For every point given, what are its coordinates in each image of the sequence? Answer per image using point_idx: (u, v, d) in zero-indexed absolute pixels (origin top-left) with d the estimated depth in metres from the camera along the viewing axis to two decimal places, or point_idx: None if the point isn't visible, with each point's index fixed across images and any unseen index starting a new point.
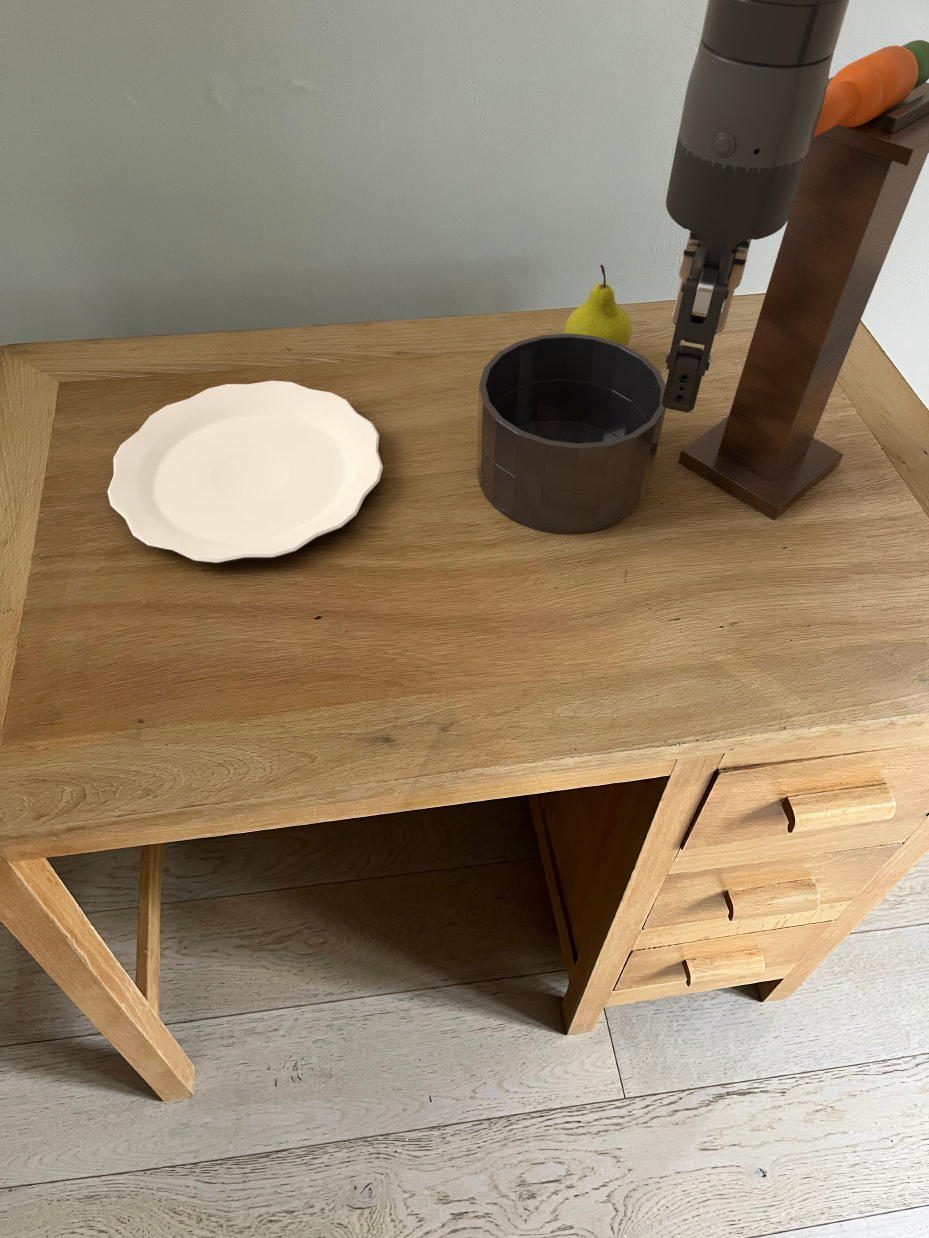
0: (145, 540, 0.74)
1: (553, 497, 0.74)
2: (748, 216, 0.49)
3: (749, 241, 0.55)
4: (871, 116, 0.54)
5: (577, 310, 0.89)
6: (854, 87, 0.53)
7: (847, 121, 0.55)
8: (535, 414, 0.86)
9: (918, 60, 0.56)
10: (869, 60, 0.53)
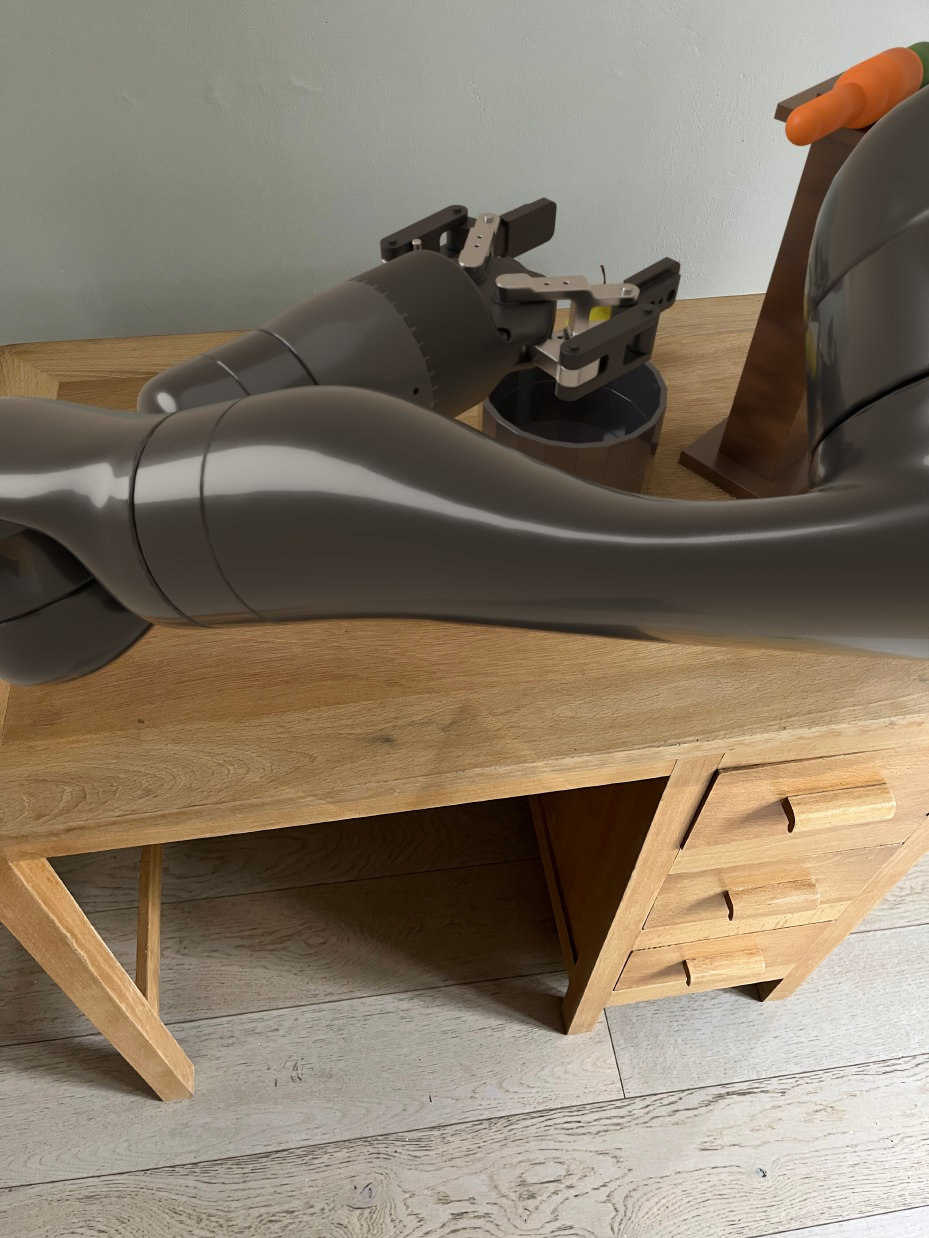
0: None
1: None
2: (474, 347, 0.37)
3: (463, 266, 0.41)
4: (872, 122, 0.55)
5: None
6: (861, 92, 0.53)
7: (848, 123, 0.55)
8: (535, 414, 0.86)
9: (924, 66, 0.56)
10: (879, 64, 0.53)
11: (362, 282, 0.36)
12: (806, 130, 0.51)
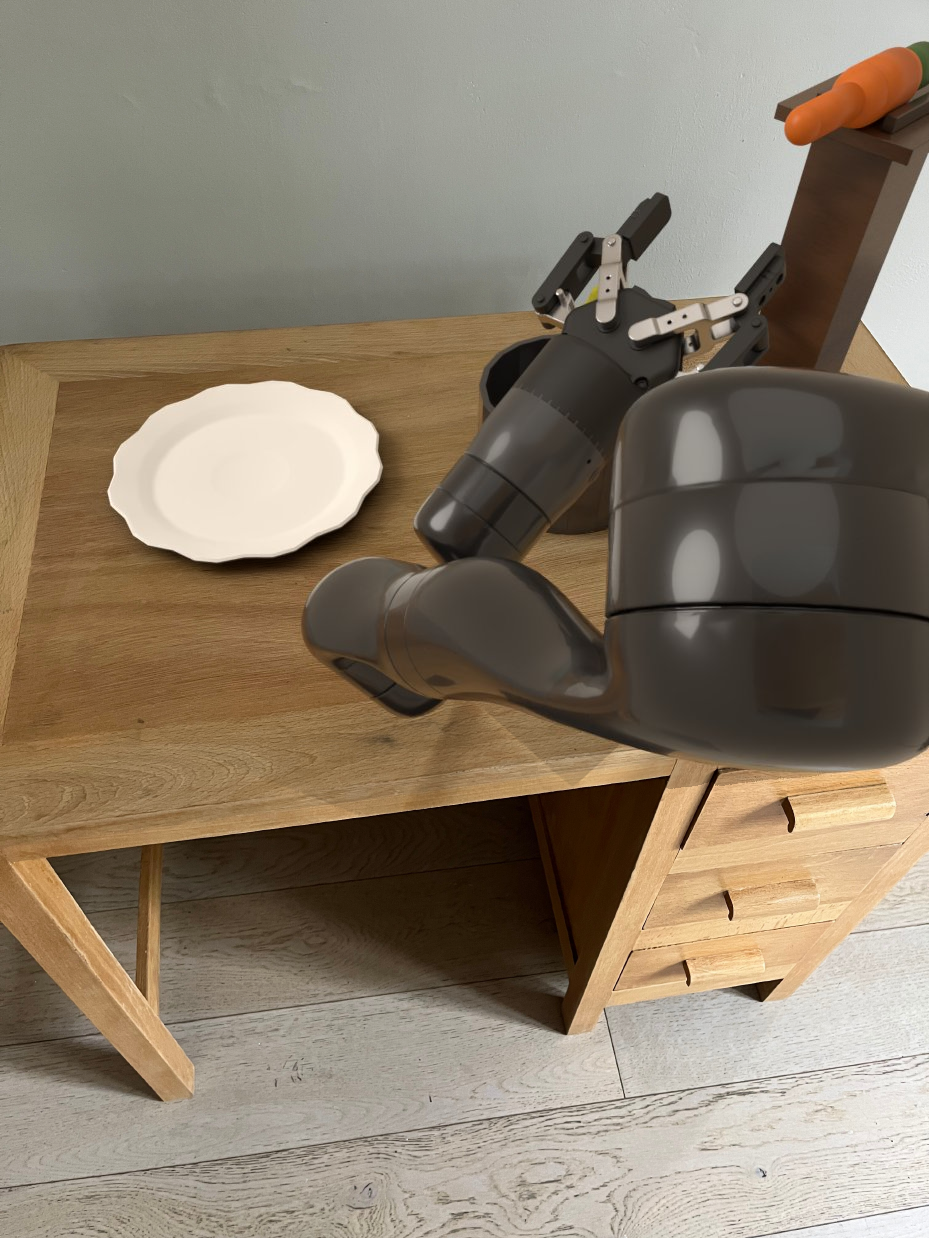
0: (145, 540, 0.74)
1: None
2: (623, 409, 0.50)
3: (601, 323, 0.52)
4: (872, 121, 0.54)
5: None
6: (860, 91, 0.53)
7: (848, 123, 0.55)
8: None
9: (923, 65, 0.56)
10: (878, 63, 0.53)
11: (531, 393, 0.50)
12: (805, 129, 0.51)
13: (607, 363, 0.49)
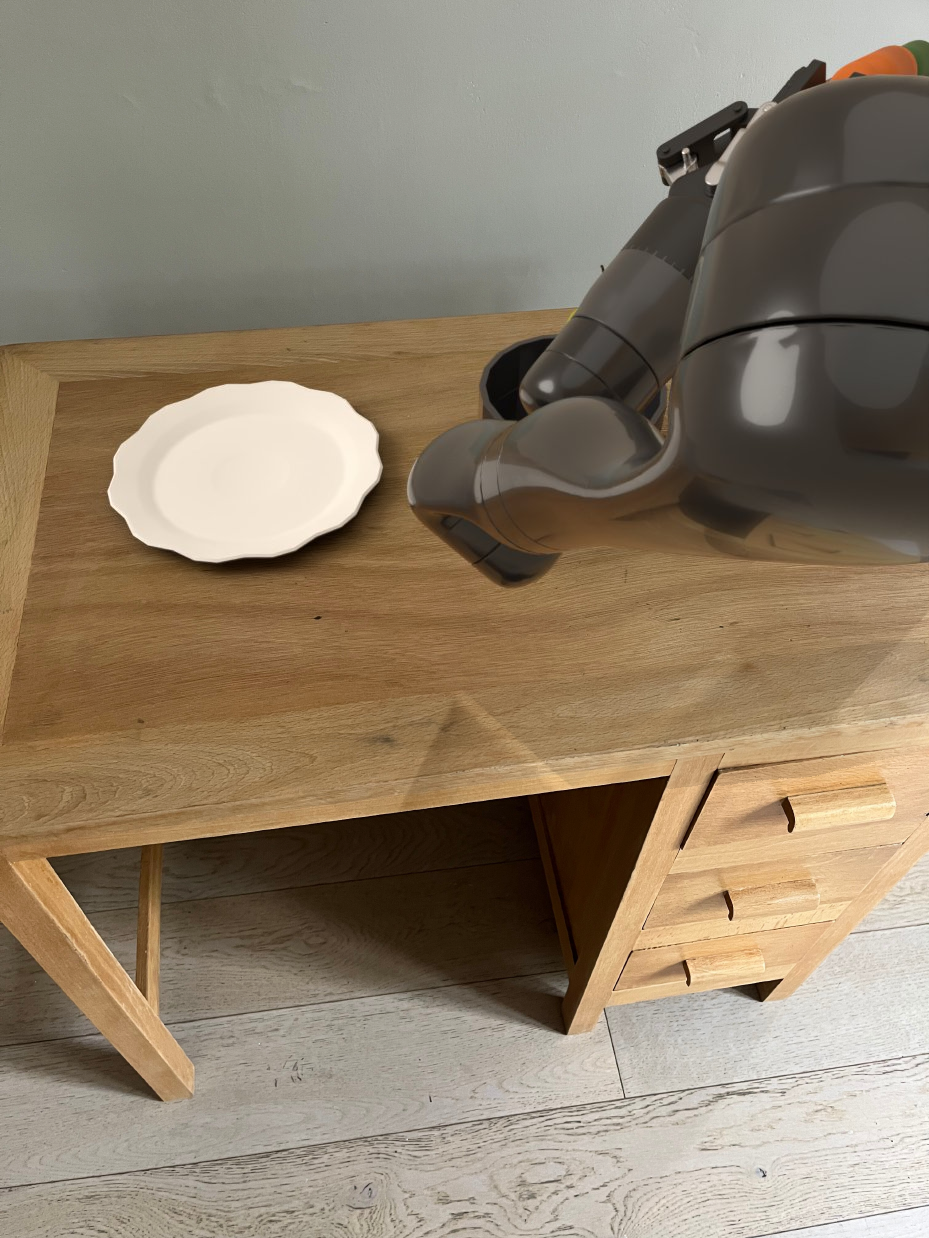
0: (145, 540, 0.74)
1: None
2: None
3: (706, 184, 0.51)
4: None
5: None
6: None
7: None
8: None
9: (917, 59, 0.56)
10: (867, 59, 0.53)
11: (644, 251, 0.50)
12: None
13: None
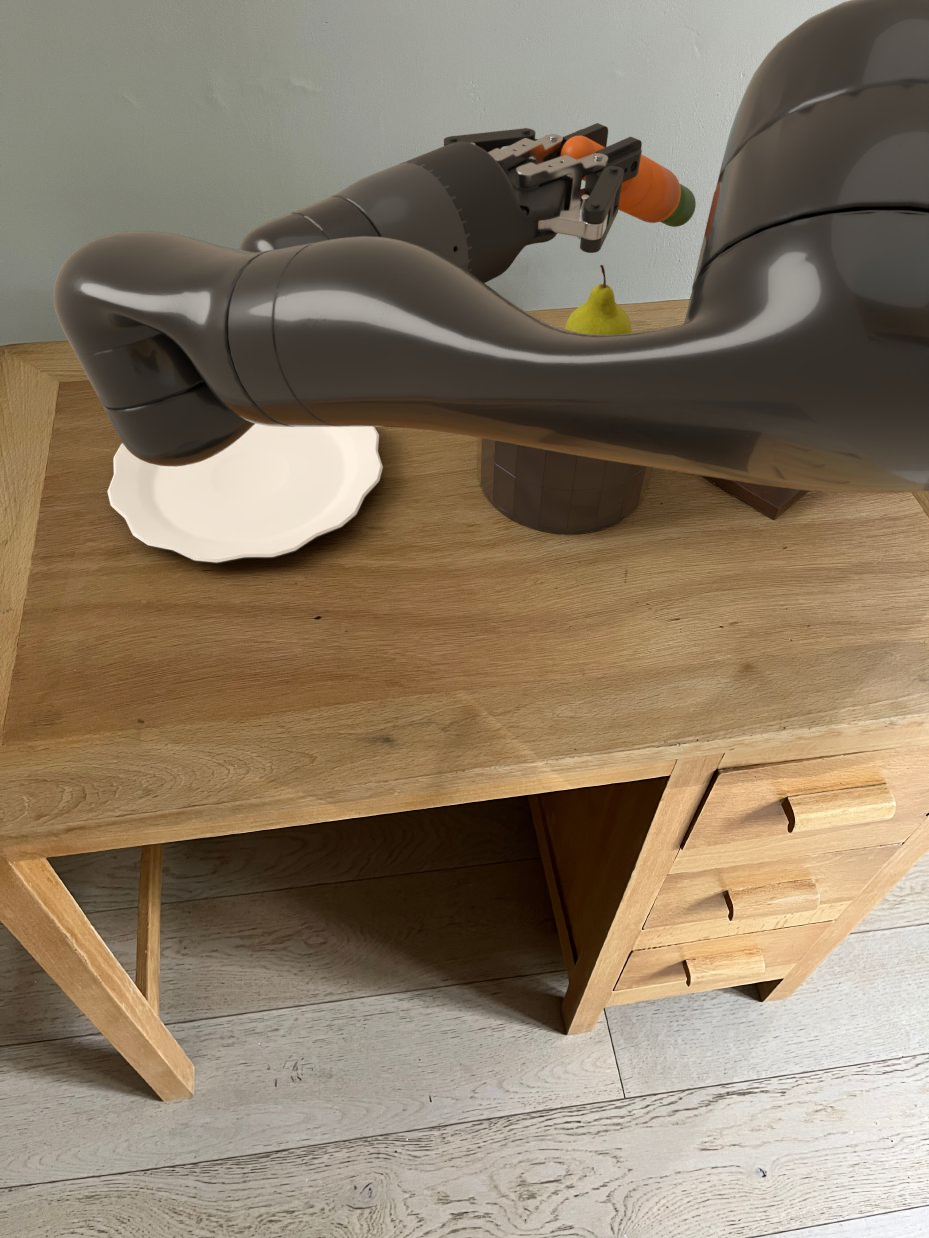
0: (145, 540, 0.74)
1: (553, 497, 0.74)
2: (501, 217, 0.47)
3: None
4: (640, 199, 0.58)
5: (577, 310, 0.89)
6: None
7: None
8: None
9: (681, 190, 0.62)
10: None
11: (412, 163, 0.46)
12: (579, 150, 0.52)
13: (496, 164, 0.47)
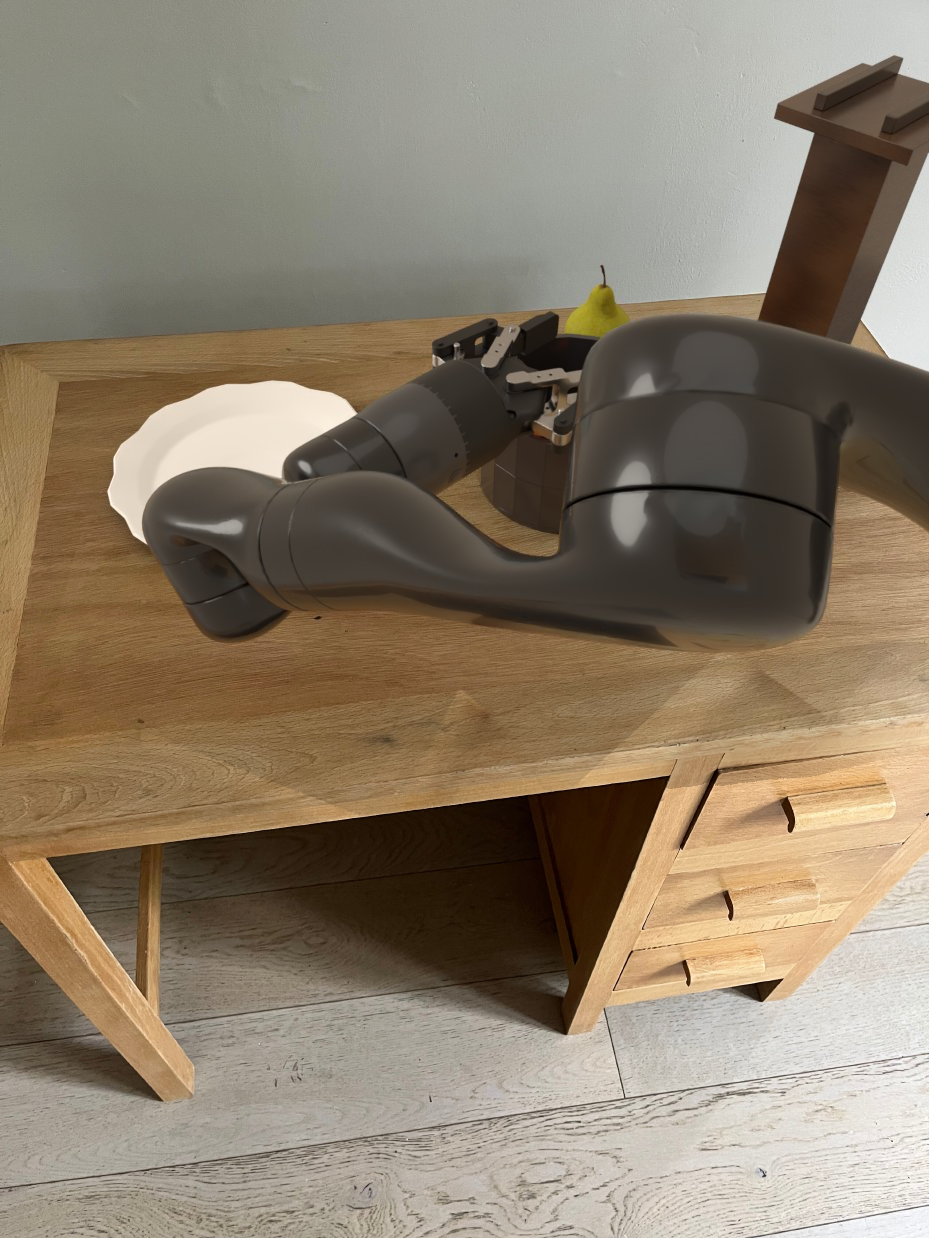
0: (145, 540, 0.74)
1: (553, 497, 0.74)
2: (493, 425, 0.58)
3: (483, 366, 0.61)
4: None
5: (577, 310, 0.89)
6: None
7: None
8: None
9: None
10: None
11: (421, 385, 0.57)
12: None
13: (489, 383, 0.57)
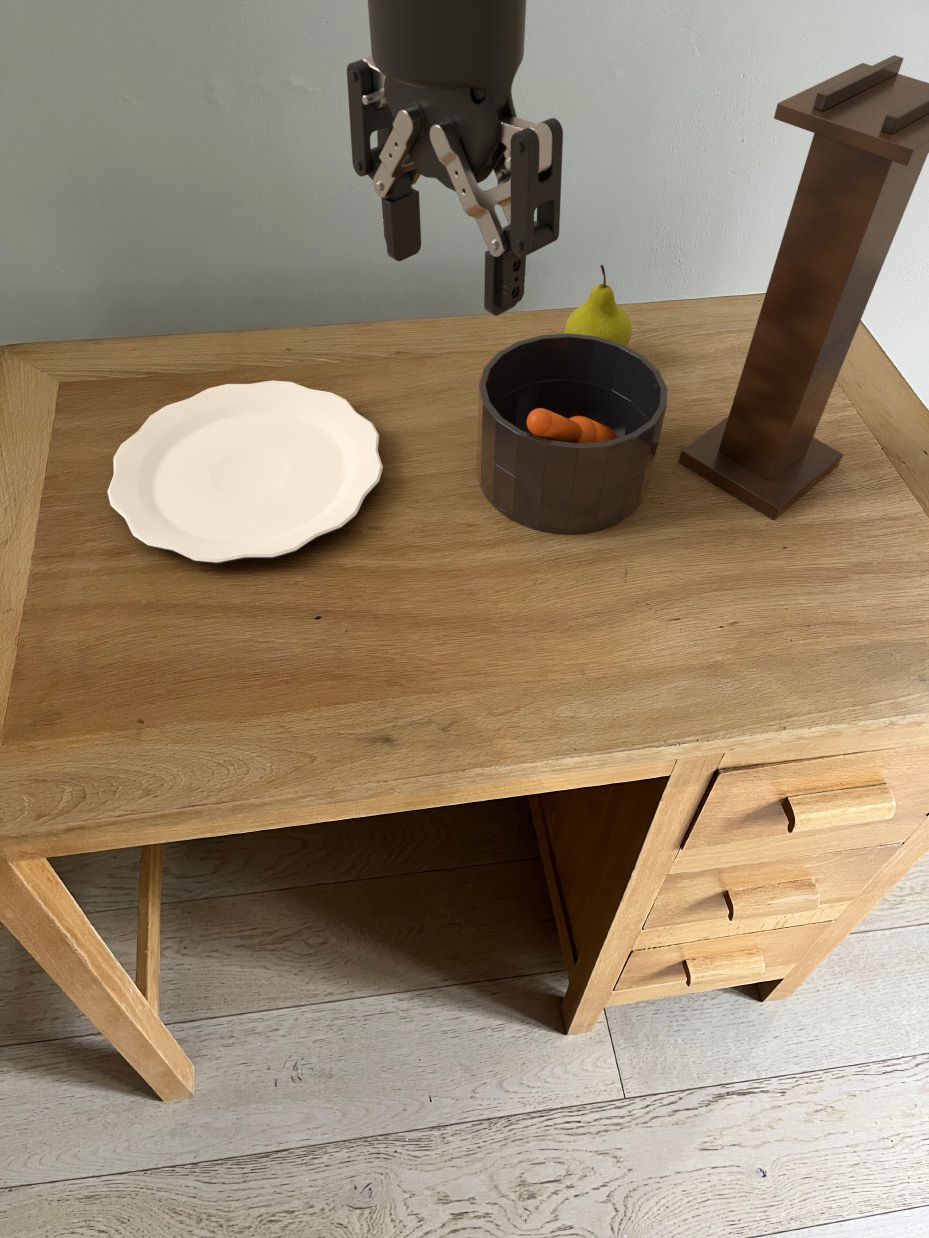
0: (145, 540, 0.74)
1: (553, 497, 0.74)
2: (518, 36, 0.40)
3: None
4: None
5: (577, 310, 0.89)
6: (574, 421, 0.73)
7: None
8: None
9: None
10: None
11: None
12: (540, 415, 0.69)
13: None
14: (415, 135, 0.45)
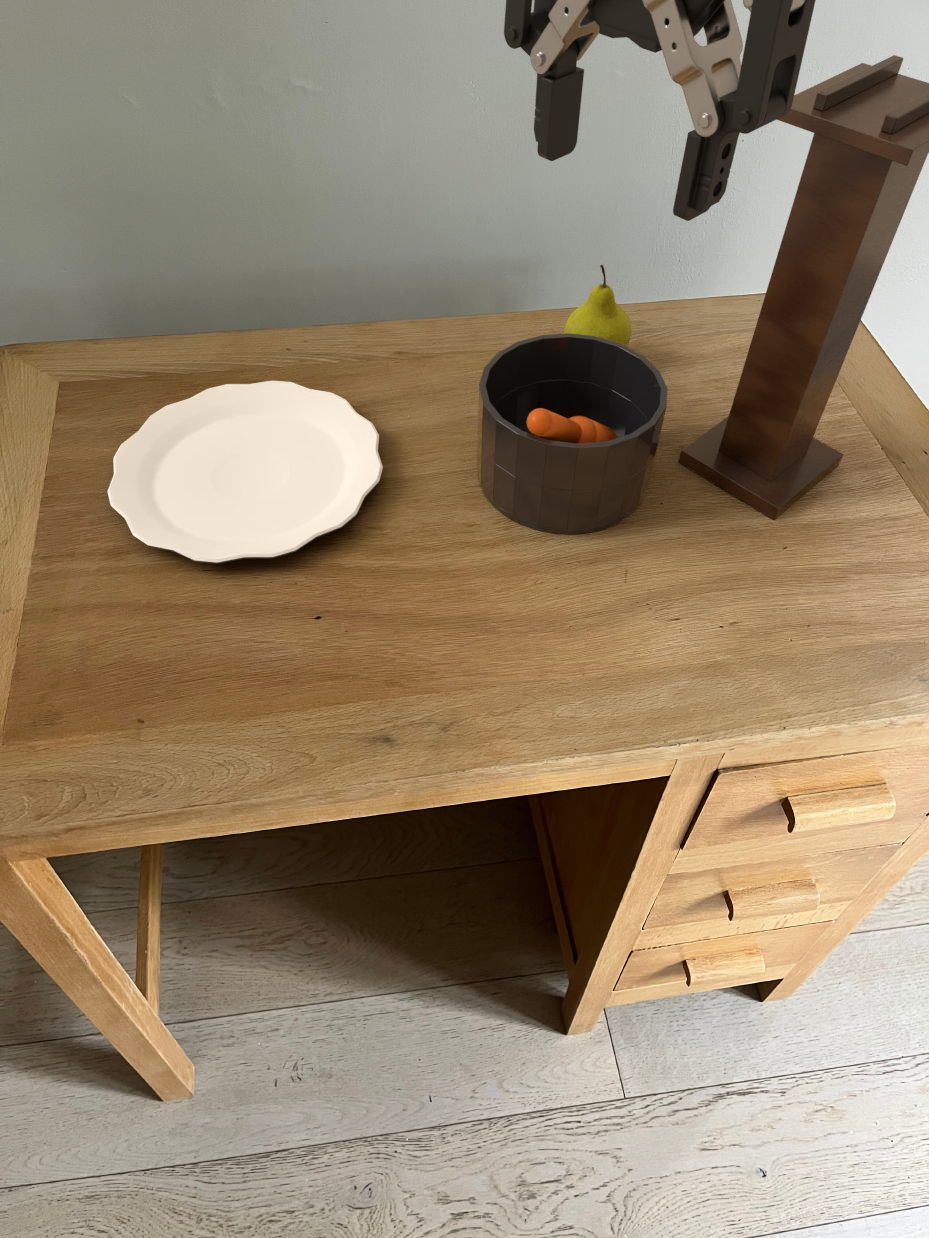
0: (145, 540, 0.74)
1: (553, 497, 0.74)
2: None
3: None
4: None
5: (577, 310, 0.89)
6: (574, 421, 0.73)
7: None
8: None
9: None
10: None
11: None
12: (540, 415, 0.69)
13: None
14: None
